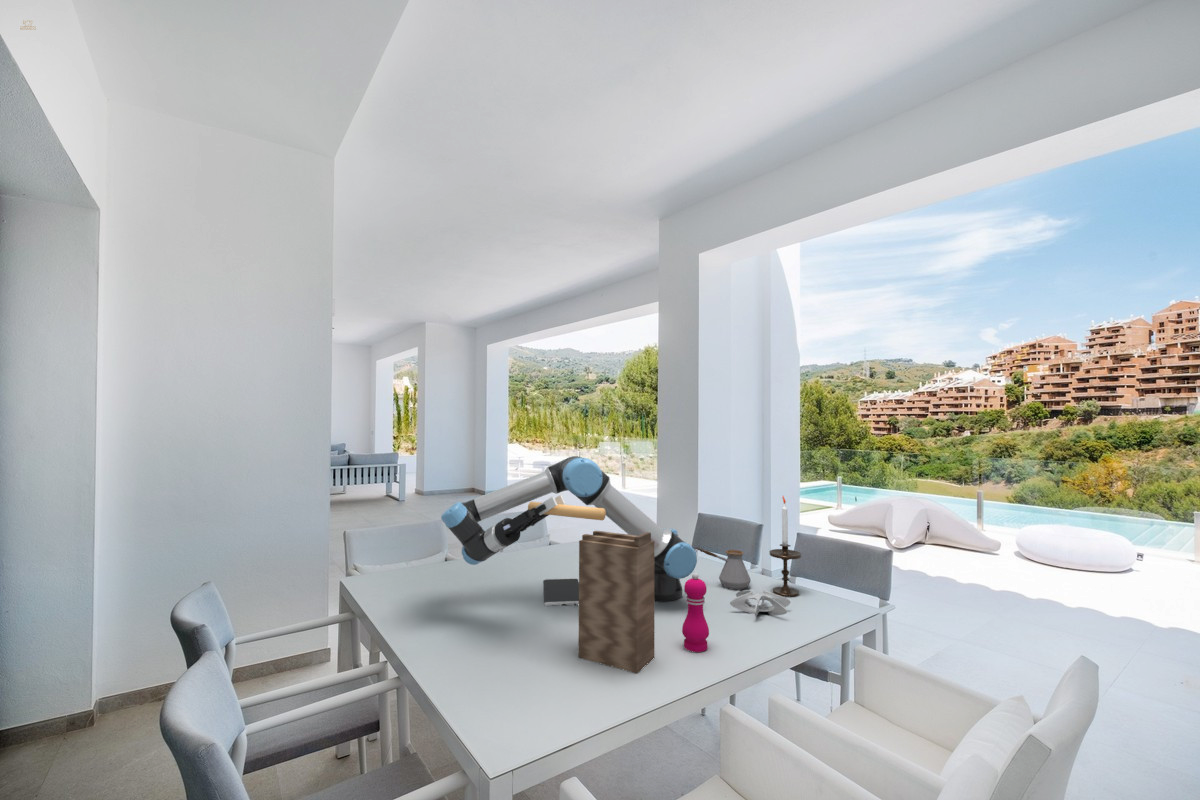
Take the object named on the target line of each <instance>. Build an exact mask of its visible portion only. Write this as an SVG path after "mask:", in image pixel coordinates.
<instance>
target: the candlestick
mask: <svg viewBox="0 0 1200 800" xmlns="http://www.w3.org/2000/svg"><path fill="white" fill-rule="evenodd" d="M781 499H782V501H783V505H782V507H781V532H782V534H781V535H782V536H781V537H782V538H781V539H782V542H781V543H780V544H779V546H780V547H781V548H778V549H777V548H775V549H770V550H769V555H770V557H773V558H776V559H781V560H782V561H783V565H782V566H783V569H782V570H780V572H781V574H782V577H781V579H782V581H783V585H782V586H775V587H773V588H772V589H771V590H772V593H774V594H777V595H780V596H783V597H785V598H795V597H799V595H800V592H799V590H798V589H796V588H793V587H790V586H789V585H788V584H789V583H788V581H790V578H789V575H790V570H788V561H790V560H799V559H801V558H802V553H801V552H799V551H797V550H792V549H789V547H791V545H790V544H789V542H788V541H789V539H788V538H789V536H788V533H789V532H788V530H789V528H788V507H787V506H786V503H787V502H786V499H785V496H782V498H781Z"/></svg>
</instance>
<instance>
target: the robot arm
mask: <svg viewBox="0 0 1200 800" xmlns="http://www.w3.org/2000/svg"><path fill="white" fill-rule="evenodd" d="M567 491H569V492H570V493H571V494H572V495H574V496H575V497H577V499H579V501H581V502H582V503H583V504H584V505H585V506H593V507H595V508H604V509H605V511H606V516H605V517H606V518H608V519H609V520H611V522H613V523H614V524H615V525H616V526H617V527H619V528H620V529H621V530H623V531H624V533H626V534H628V535H636V536H639V535H641V534H644V533H646V532H649V533H651V541H654V601H657V602H658V601H659V602H669V601H671V602H672V601H677V600H679V599H681V598H682V597H683V593H684V592H683V587H682V583H681V579H685V578H687V577H688V576H690V575H692V574H693V573H694V571H695V568H696V566H697V560H698V556H697V552H696V549H694V547H693V546H692V545H691V544H689V543H687V542H686V541H684V540H683V539H681V538H680V537H679V534H678V531H677V529H674V528H662V527H660V526H659V525H658V523H656V522H655V521H653V519H651V517H649V516H648V515H647V514H645V513H644V512H643V511H642V510H641V509H640V508H639V507H637V506H636V505H635V504H634V503H633V502H631V501H630V500H629V499H628V498H627V497H626V496H625V495H624V494H622V493H621V492H620V491H619V490H617V488H616V487H614V486H613V485H612V484H611V477H609V476H608V475H607V474H606V472H604V471H603V470H602V469H601V468H600V466H599V465H598V464H597V463H596V462H595V461H593V460H592V459H590V458H586V457H583V456H578V455H575V456H569V457H566V458H565V459H563V460H561V461H559V462H557V463H555V464H551V465H550V466H548V467H546V468H545V470H544V471H543V472H540V473H537V474H535V475H532V476H529V477H526V478H524V479H522V480H519V481H517V482H514V483H511V484H509V485H506V486H504V487H501V488H498V489H496V490H494V491H490V492H489V493H486V494H483V495H481V496H478V497H476V498H473V499H471V500H468V501H465V502H460V501H457V502H455V503H453V504H452V505H451V506H450V507H449V508H447V509H446V510H445V511H444V512H443V513H442V514H441V515H440V519H441V521H442V522H443V523H444V524H445V526H446V527H447V528H448V529H449V531H450V532H451V533H452V534H453V535H454V536H455V537H456V539H457V540H458V541H459V542H460V544H461V545H462V547H461V555H462V558H463V560H464V561H465V562H466V563H467V564H469V565H472V566H475V565H479V564H480V563H482V562H485V561H487V560H488V559H489V558H491V557H493V556H494V555H495V554H498V553H499V552H500V553H503V552H504V549H505V548H508V547H509V546H511V545H513V544H514V543H516V542H518V540H520V537H521V532H524V531H526V530H527V529H528V528H530V527H533V526H535V525H536V524H537V523H539V522H540V521H543V520H544V519H545V518H547V517H548V516H549V515H547V514H544V513H546V512H547V511H549V510H550V509H552V508H554V507H555V506H557V504H563V505H566V501H565V499H564V497H563V494H560V493H562V492H567ZM549 494H556V495H557V494H559V495H558V496H556V497H555V496H551V497H549V498H548V499H546V500H545V501H544V500H543V502H541V504H540V505H538V506H536V508H532V509H531V510H530V509H529V510H528V509H527V510H525V511H523V512H522V513H520V514H519V515H517V516H515V517H513V518H511V517H510V518H509V517H505V518H504V519H501V520H500V521H498V523H495V524H493V525H492V526H490V527H488V528H487V529H486V530H484V528H483V527H482V526H481V525H480V524H479V522H482V521H484V520H486V519H488V518H492V517H494V516H496V515H498V514H501V513H504V512H507V511H509V510H512V509H514V508H516V507H519V506H522V505H524V504H526V503H530V502H533V501H534V500H537V499H539V498H542V497H544V496H546V495H549Z"/></svg>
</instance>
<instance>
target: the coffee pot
mask: <svg viewBox="0 0 1200 800" xmlns="http://www.w3.org/2000/svg"><path fill="white" fill-rule="evenodd" d="M694 550H695V552H696V553H697V552H698V551H700V552H701V553H702V552H703V553H704V554H706V555H708V556H711V557H714V558H717V559H719V560H722V561H724V565H723V567H722V569H721V571H720V574H719V577H718V579H719V582H720V583H721V584H722V585H723V586H724V588H726V589H730V590H735V591H737V590H738V591H739V590H741V591H742V590H744V589H746V588H747V587H748V586H749V585H750V583H751V582H752V581H751V577H750V574H749V573H748V570H747V567H746V566H745V563H744V560H743V555H744V552H743V551H742V550H737V549H728V550H726V551H725V553H726V556H727V558H726V557H723V556H720V555H718V554H716V553H713V552H711V551H709V550H707V549H706V550H705V549H704V548H700V547H695V549H694Z"/></svg>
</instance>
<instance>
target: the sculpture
mask: <svg viewBox="0 0 1200 800" xmlns="http://www.w3.org/2000/svg"><path fill="white" fill-rule="evenodd" d="M735 596H736V597H734V598H733V599H731V600H730V602H729V605H731V607H733V608H734V609H737V610H740V611H742V612H744V613H745V612H746V613H749V614H752V615H754V616H757V617H758V614H759V613H760V612H768V615H771V616H783V615H786V614H787V613H788V611H787V609H786V607H788V606H790V604H791V603H792V602H791V600H790V599H789V598H788V597H783V596H780V595H777V594H774V593H773V592H770V591H767V590H763V591H762V593H755V594H754V593H753V591H752V590H741V591H738V592H736V593H735ZM750 600H755V601H756V603H755V604H752V603H751V601H750ZM760 601H761V604H760V605H759V603H760ZM765 601H768V602H769V603H770V604H771V605H769V606H767V605H764V603H765Z"/></svg>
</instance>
